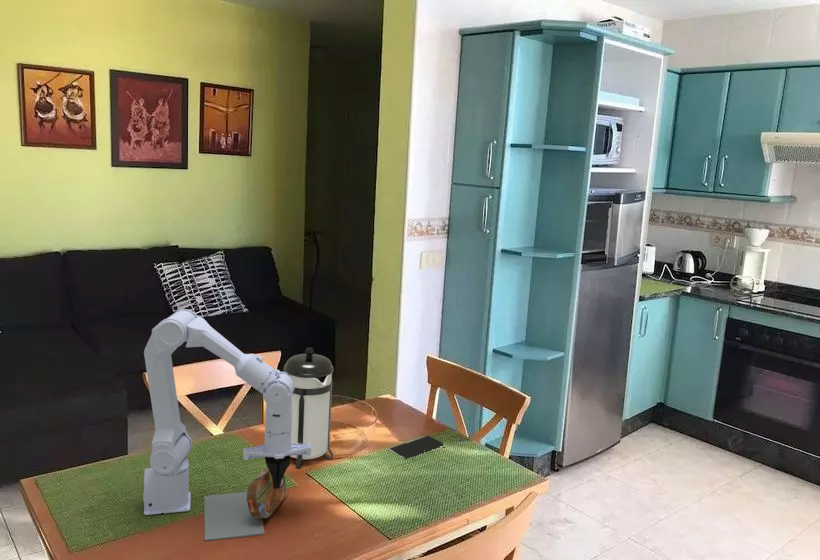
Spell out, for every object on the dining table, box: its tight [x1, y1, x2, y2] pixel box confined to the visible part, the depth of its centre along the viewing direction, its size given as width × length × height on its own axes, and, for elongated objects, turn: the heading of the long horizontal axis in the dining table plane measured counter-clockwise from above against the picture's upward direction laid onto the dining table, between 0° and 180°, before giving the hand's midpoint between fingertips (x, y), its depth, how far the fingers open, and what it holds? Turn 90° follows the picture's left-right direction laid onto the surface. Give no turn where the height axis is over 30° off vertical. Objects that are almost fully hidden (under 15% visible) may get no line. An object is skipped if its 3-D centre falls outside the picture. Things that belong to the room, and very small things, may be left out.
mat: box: [203, 491, 265, 542], centre depth 144 cm, size 12×18×1 cm, turn 17°
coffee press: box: [283, 347, 335, 469], centre depth 173 cm, size 17×16×30 cm
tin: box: [246, 466, 287, 519], centre depth 146 cm, size 15×3×8 cm, turn 169°
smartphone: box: [388, 435, 443, 458], centre depth 183 cm, size 8×1×15 cm
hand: (276, 486), depth 146 cm, fingers closed
